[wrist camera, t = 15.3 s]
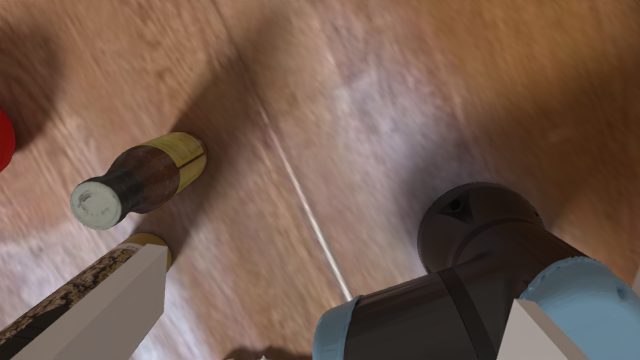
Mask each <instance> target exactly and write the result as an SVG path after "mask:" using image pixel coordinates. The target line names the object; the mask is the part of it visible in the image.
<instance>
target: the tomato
mask: <svg viewBox="0 0 640 360" xmlns="http://www.w3.org/2000/svg"><path fill="white" fill-rule="evenodd" d="M15 146H16V143H15V132H14V129H13V126H12V124H11V122H10V119H9V117H8V116H7V115H6V114H5V113H4V111H3V110H2V109H1V108H0V172H1V171H2V170H3V169H4V168H5V167H7V166H8V164H9V163H10V161H11V159H12V156H13V152H14V149H15Z"/></svg>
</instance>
